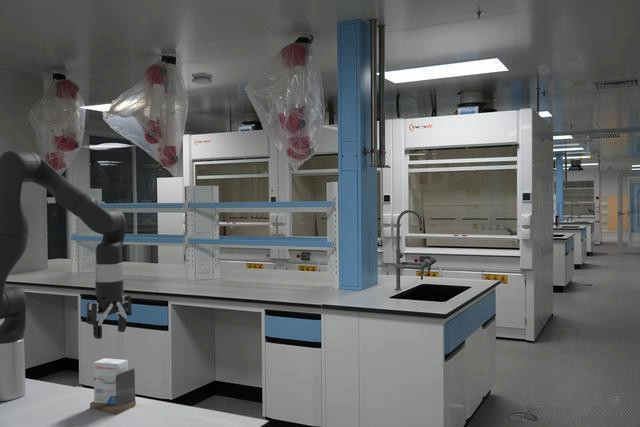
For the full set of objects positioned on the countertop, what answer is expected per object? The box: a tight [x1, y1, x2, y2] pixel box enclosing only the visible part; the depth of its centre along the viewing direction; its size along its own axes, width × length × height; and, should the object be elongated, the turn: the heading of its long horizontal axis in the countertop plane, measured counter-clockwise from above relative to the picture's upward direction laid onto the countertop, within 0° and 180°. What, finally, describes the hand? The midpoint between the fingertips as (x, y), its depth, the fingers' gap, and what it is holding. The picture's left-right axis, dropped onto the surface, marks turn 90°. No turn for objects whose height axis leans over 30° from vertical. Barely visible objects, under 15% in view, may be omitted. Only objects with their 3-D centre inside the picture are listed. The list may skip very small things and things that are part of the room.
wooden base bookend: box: [89, 367, 137, 415], centre depth 160 cm, size 11×7×11 cm, turn 63°
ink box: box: [92, 357, 129, 405], centre depth 160 cm, size 8×5×12 cm, turn 75°
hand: (110, 334), depth 160 cm, fingers open, 8 cm apart
